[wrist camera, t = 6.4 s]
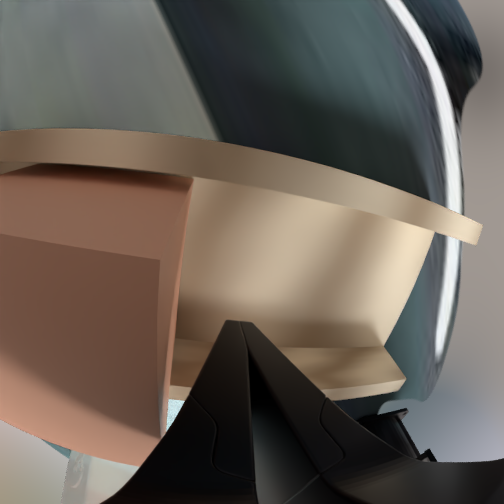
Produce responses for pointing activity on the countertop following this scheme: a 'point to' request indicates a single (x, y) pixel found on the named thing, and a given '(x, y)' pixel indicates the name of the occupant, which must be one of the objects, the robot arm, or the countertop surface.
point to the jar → (93, 479)
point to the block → (90, 305)
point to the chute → (274, 249)
